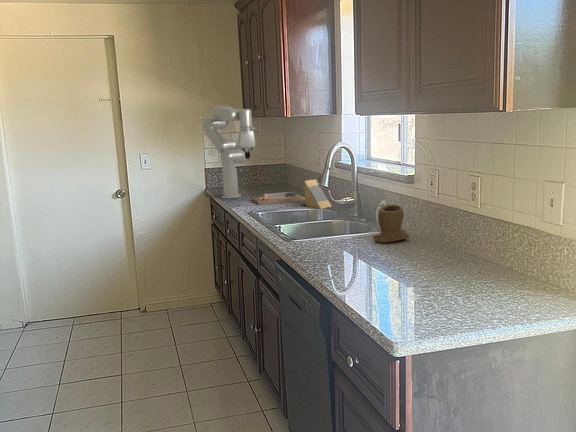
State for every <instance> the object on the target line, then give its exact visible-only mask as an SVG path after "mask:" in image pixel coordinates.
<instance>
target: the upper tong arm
mask: <svg viewBox="0 0 576 432" xmlns="http://www.w3.org/2000/svg"><path fill="white" fill-rule="evenodd" d="M293 194H297V193H296V191H289V192H287V191H286V192H284V191H283V192H274V193H263V194H262V195H263V196H277V195H293ZM263 196H262V197H263Z"/></svg>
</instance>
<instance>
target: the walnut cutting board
mask: <svg viewBox="0 0 576 432" xmlns="http://www.w3.org/2000/svg"><path fill="white" fill-rule="evenodd" d="M295 195H296V197H282V198H271V199H266V200H264V199H261V200H260V199H259V197H260V196H256V197H255V196H254V197H251V202H253V203H255V204H257V205H260V206H261V205H268V204H269V205H270V204H281V203H282V204H284V203H291V202H292V203H293V202H303V201H305V196H303V195H300V194H298V193H296V194H295ZM276 196H282V195H276ZM269 197H271V196H269ZM305 202H306V201H305Z"/></svg>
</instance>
